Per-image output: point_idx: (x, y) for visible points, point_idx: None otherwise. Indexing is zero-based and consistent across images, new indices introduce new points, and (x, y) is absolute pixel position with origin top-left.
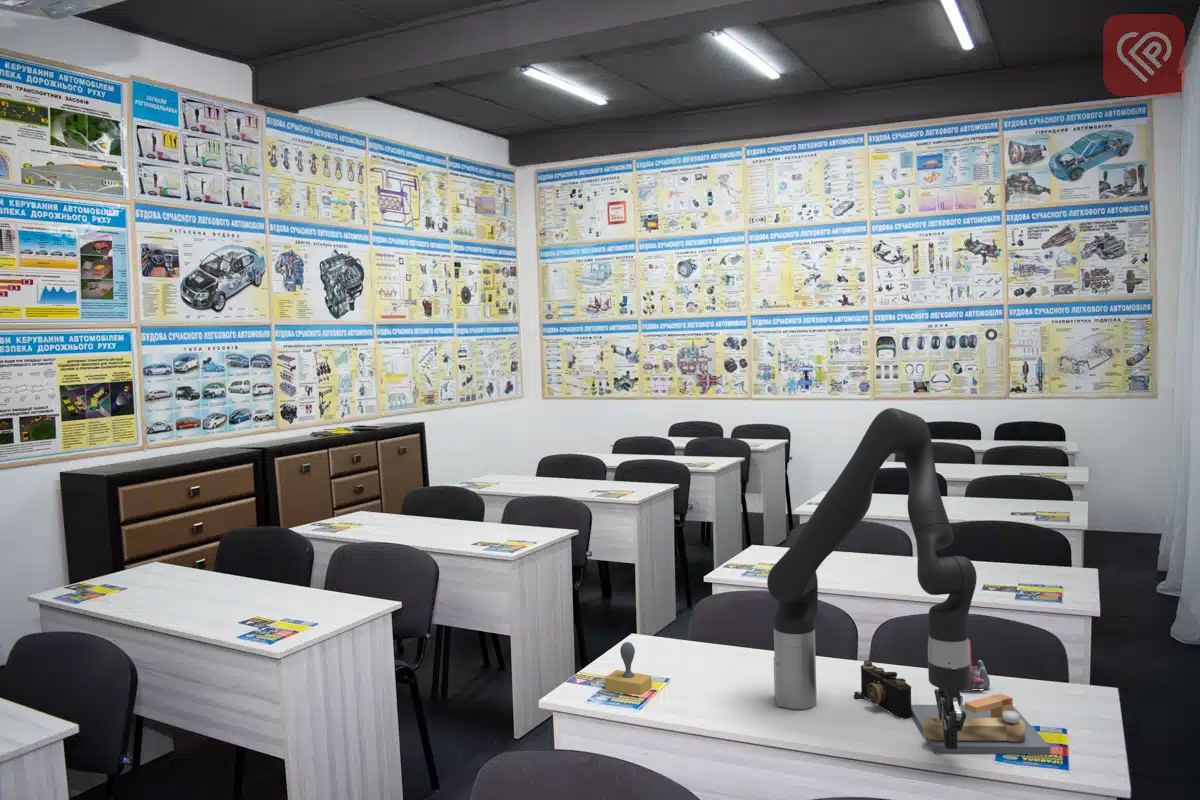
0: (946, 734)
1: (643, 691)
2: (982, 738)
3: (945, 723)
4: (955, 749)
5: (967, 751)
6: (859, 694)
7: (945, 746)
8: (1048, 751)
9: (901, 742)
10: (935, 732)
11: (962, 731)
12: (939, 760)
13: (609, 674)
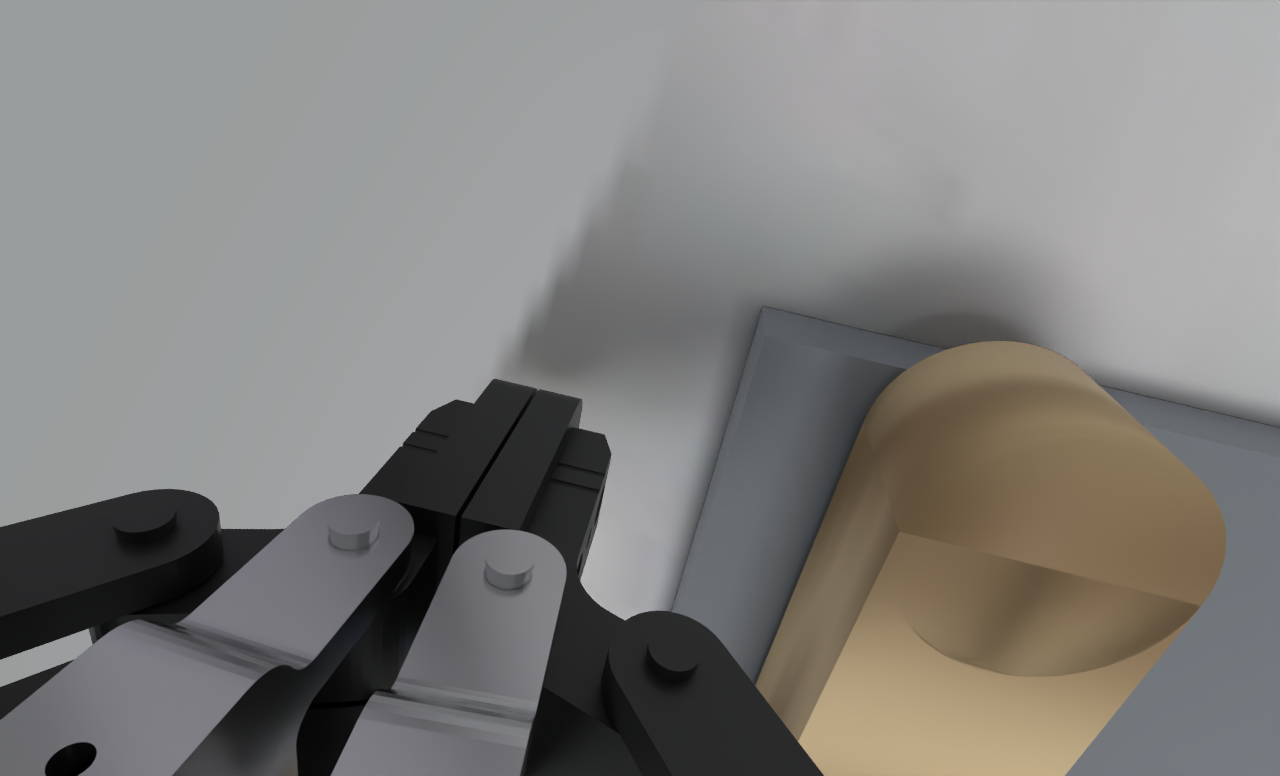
0: (426, 474)
1: None
2: None
3: (268, 578)
4: (710, 501)
5: (687, 570)
6: None
7: (508, 383)
8: None
9: (1181, 67)
10: (886, 462)
11: (783, 702)
12: (609, 279)
13: None
